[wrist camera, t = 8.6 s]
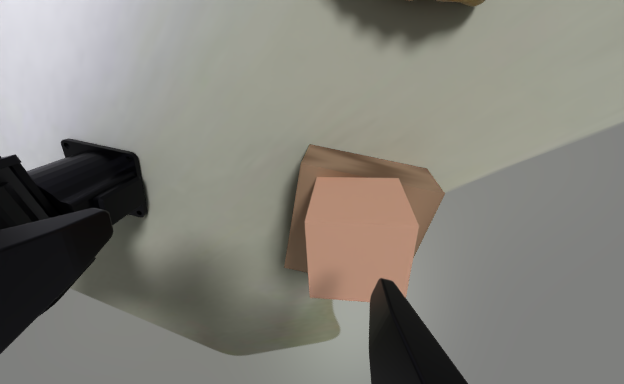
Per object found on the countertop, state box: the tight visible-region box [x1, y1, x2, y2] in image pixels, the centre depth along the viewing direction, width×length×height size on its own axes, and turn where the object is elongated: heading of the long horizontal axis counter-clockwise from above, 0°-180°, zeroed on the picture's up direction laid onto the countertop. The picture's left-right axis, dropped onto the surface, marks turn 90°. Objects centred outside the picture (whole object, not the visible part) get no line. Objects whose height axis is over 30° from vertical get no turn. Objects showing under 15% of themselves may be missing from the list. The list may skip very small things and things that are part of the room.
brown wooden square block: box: [284, 144, 445, 273], centre depth 19 cm, size 9×9×4 cm
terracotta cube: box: [305, 177, 419, 302], centre depth 15 cm, size 5×5×5 cm
